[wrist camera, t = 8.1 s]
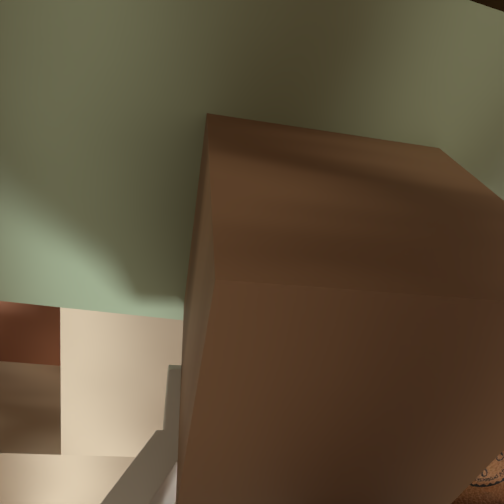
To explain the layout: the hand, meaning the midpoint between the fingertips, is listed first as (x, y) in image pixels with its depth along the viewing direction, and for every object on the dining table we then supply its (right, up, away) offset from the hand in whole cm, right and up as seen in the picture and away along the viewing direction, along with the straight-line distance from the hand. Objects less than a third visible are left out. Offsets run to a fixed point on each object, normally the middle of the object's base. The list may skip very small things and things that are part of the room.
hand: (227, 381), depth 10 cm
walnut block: (+2, +4, 0) cm, 4 cm away
